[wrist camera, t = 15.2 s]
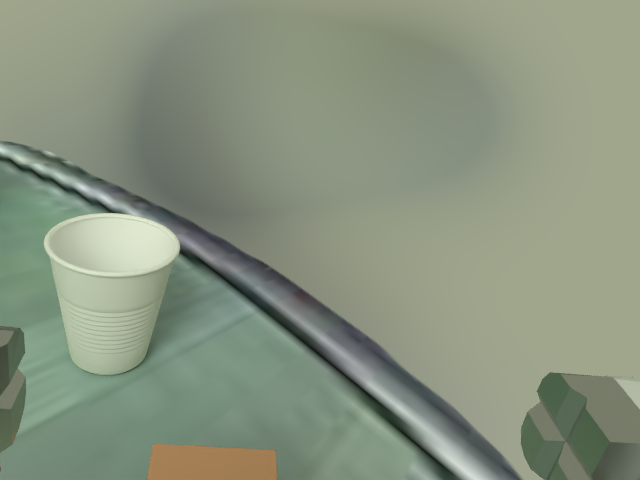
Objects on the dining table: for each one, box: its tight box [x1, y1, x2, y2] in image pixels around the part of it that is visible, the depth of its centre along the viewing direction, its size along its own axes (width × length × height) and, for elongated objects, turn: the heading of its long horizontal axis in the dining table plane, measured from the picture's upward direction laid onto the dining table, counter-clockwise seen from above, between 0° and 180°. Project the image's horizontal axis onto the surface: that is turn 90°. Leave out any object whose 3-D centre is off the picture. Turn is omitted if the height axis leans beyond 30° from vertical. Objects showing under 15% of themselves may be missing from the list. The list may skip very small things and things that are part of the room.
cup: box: [44, 213, 180, 375], centre depth 48 cm, size 10×10×11 cm
